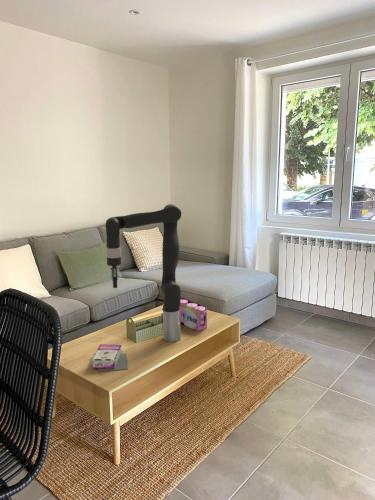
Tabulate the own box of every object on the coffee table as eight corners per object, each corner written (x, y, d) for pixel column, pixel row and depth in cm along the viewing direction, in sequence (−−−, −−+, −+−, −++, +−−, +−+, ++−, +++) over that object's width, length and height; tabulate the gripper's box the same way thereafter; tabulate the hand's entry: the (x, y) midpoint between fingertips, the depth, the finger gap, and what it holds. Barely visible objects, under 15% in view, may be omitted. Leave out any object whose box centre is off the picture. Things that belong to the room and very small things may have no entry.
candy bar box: (100, 353, 201) (91, 368, 185) (100, 344, 200) (91, 358, 184) (122, 353, 201) (114, 369, 185) (121, 344, 200) (114, 359, 184)
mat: (126, 353, 201) (126, 353, 201) (127, 369, 186) (127, 368, 185) (98, 356, 198) (98, 355, 198) (97, 372, 183) (97, 371, 183)
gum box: (208, 328, 233) (209, 307, 230) (199, 332, 228) (199, 310, 225) (183, 317, 250) (183, 297, 248) (173, 320, 245) (173, 300, 243)
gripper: (121, 258, 197) (122, 290, 201) (120, 253, 210) (121, 283, 214) (106, 259, 196) (108, 291, 199) (106, 253, 209) (107, 284, 212)
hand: (115, 287), depth 207 cm, fingers closed
